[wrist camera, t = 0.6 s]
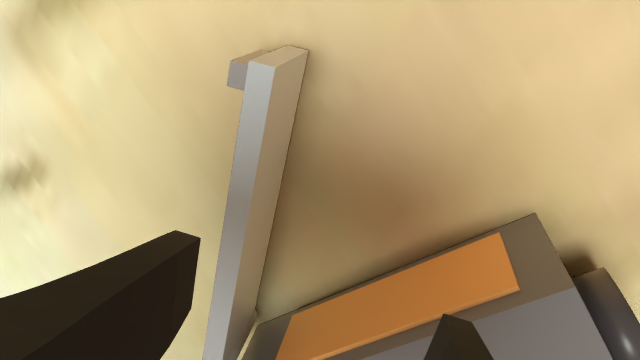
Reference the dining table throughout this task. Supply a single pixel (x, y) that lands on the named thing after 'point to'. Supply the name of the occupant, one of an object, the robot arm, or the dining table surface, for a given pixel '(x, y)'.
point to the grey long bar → (252, 191)
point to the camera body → (465, 307)
